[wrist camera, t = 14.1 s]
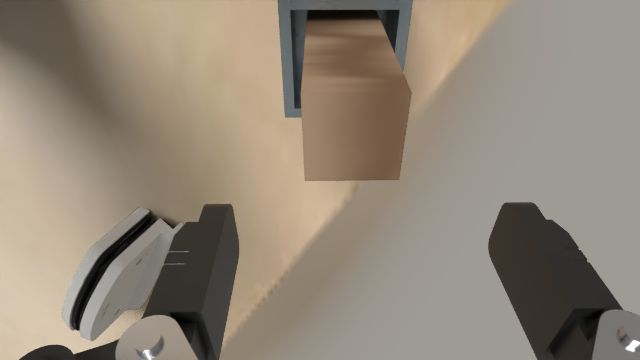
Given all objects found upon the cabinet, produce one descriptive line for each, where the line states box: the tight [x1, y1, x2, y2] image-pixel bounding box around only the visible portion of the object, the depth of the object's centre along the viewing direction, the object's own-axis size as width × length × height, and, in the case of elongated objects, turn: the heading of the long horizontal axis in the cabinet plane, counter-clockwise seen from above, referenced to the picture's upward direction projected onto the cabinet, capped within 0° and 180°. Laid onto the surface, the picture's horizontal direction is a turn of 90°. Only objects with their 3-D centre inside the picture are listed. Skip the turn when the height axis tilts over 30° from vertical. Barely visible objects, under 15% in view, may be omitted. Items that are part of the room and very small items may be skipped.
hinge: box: [62, 207, 184, 341], centre depth 43 cm, size 17×5×10 cm, turn 150°
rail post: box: [301, 10, 411, 181], centre depth 20 cm, size 4×4×12 cm
